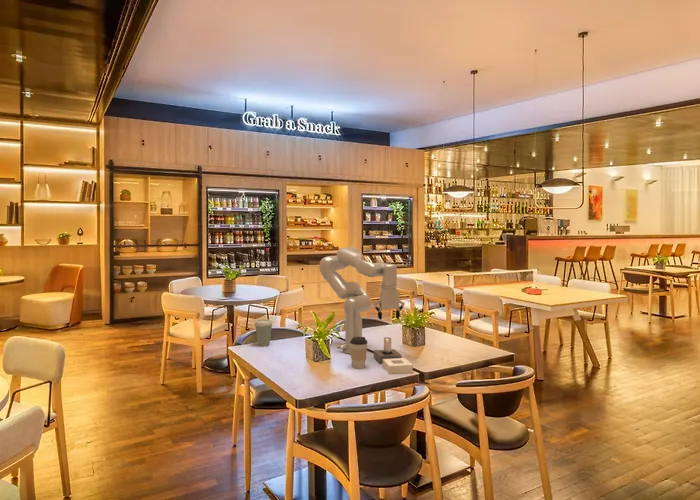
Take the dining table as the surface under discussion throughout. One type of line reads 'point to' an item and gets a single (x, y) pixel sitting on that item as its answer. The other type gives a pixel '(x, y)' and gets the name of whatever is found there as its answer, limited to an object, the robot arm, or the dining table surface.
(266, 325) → the disposable coffee cup
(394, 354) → the block
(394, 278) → the robot arm
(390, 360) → the socket block
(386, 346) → the pin
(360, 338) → the coffee cup
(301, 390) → the dining table surface
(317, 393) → the dining table surface
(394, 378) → the dining table surface
